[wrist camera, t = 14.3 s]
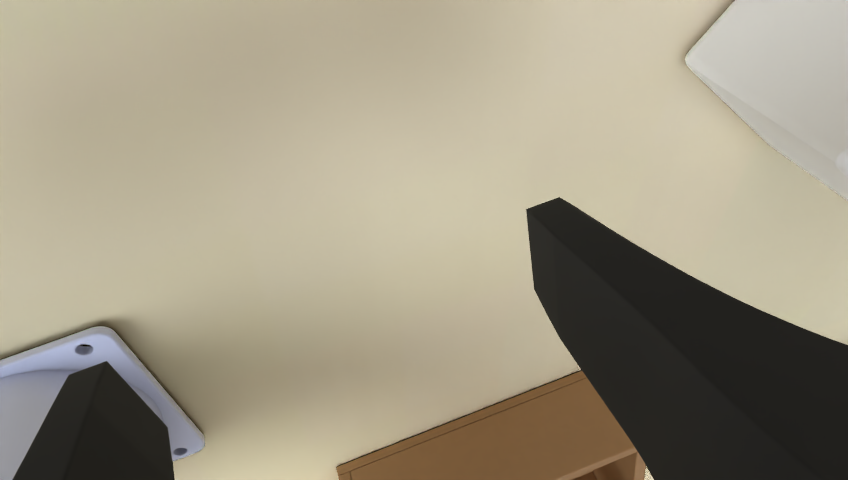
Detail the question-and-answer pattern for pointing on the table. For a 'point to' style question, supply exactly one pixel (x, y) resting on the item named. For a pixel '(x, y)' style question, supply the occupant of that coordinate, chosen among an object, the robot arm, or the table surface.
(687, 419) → the robot arm
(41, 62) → the table surface
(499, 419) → the box
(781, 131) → the medicine bottle
